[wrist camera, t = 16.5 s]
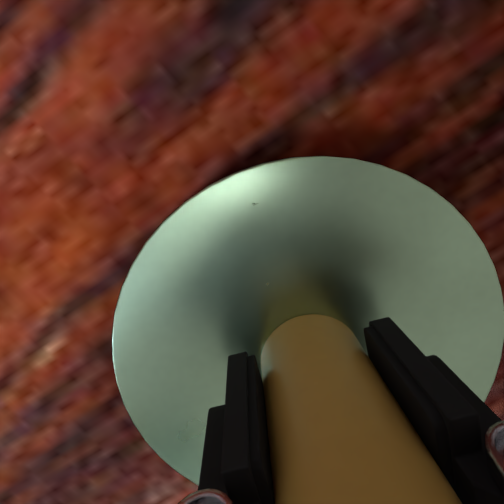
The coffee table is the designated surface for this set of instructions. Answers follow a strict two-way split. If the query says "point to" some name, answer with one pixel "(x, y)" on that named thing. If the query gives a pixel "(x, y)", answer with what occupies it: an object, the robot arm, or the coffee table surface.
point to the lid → (307, 322)
